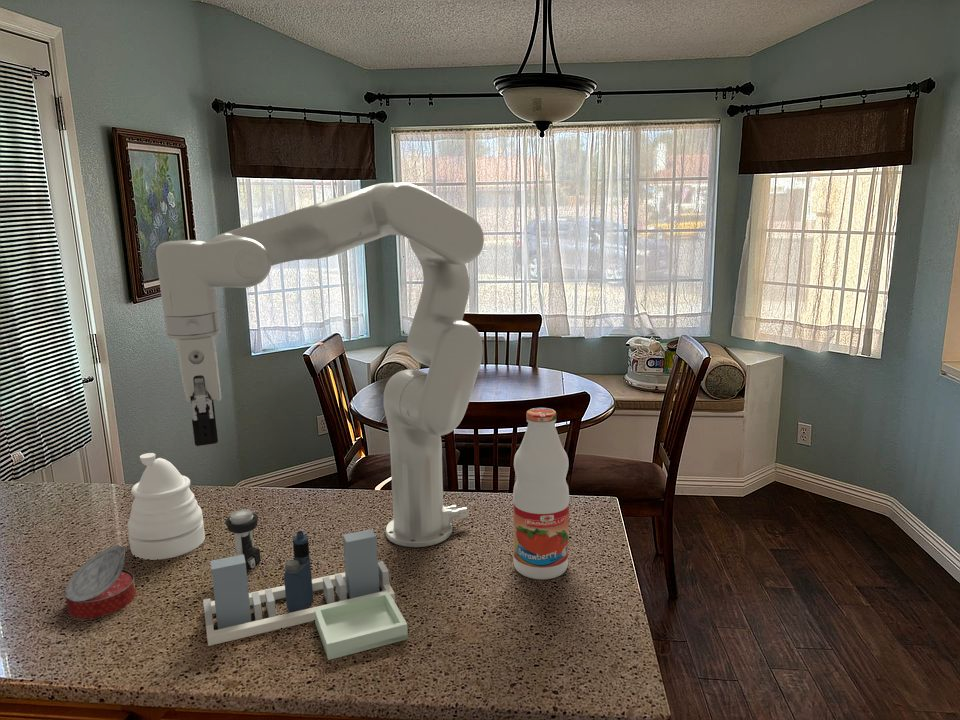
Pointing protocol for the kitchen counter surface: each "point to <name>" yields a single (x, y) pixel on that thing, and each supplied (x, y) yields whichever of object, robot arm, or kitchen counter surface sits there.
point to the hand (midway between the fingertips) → (206, 434)
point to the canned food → (100, 585)
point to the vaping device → (299, 576)
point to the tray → (360, 625)
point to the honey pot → (163, 513)
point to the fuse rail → (236, 600)
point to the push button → (244, 535)
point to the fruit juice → (541, 499)
